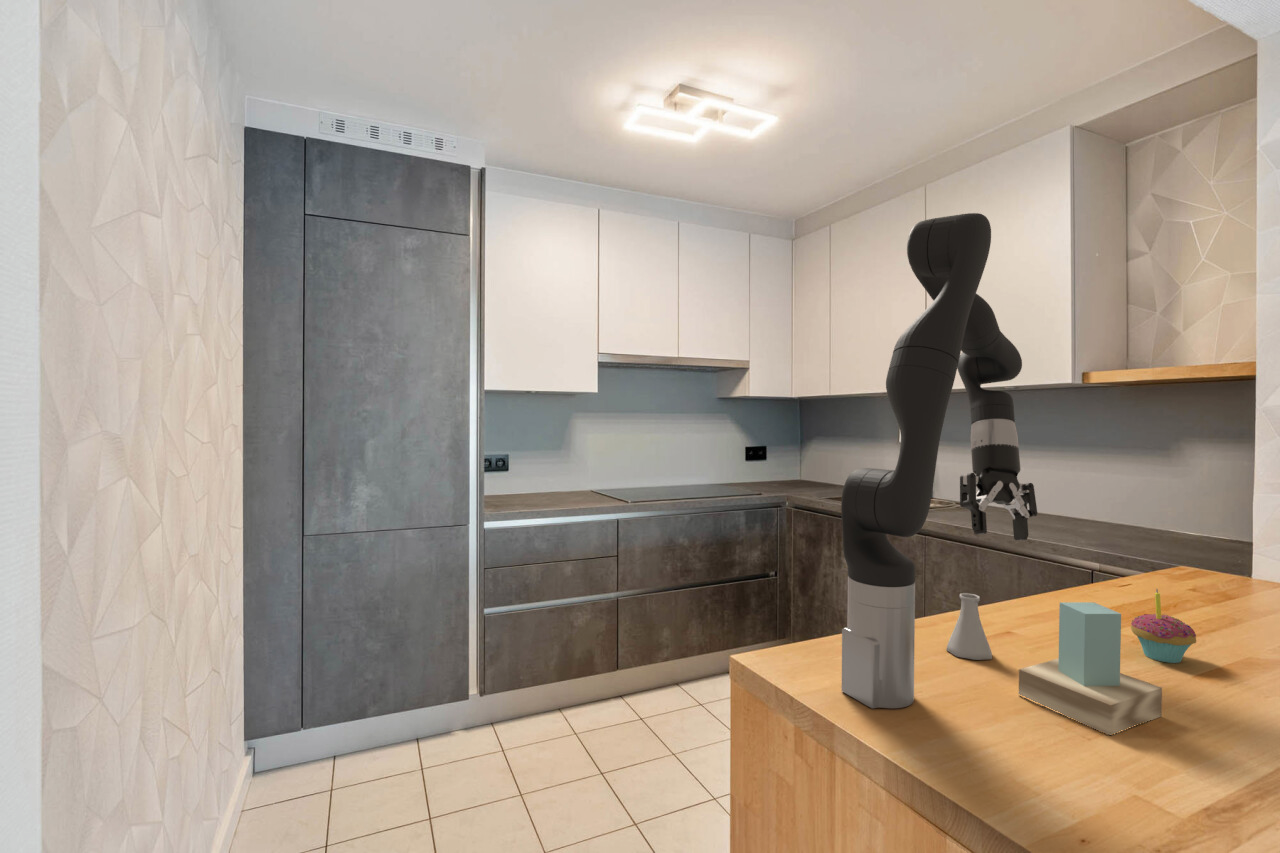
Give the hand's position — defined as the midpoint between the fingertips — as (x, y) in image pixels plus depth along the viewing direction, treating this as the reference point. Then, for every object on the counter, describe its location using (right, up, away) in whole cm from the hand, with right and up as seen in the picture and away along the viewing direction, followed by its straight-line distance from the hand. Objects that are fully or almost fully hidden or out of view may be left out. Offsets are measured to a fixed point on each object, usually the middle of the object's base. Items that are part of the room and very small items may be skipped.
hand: (1000, 537), depth 107 cm
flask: (-7, -20, -2) cm, 21 cm away
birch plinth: (0, -20, -21) cm, 29 cm away
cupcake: (+25, -20, -3) cm, 32 cm away
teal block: (0, -16, -21) cm, 26 cm away
